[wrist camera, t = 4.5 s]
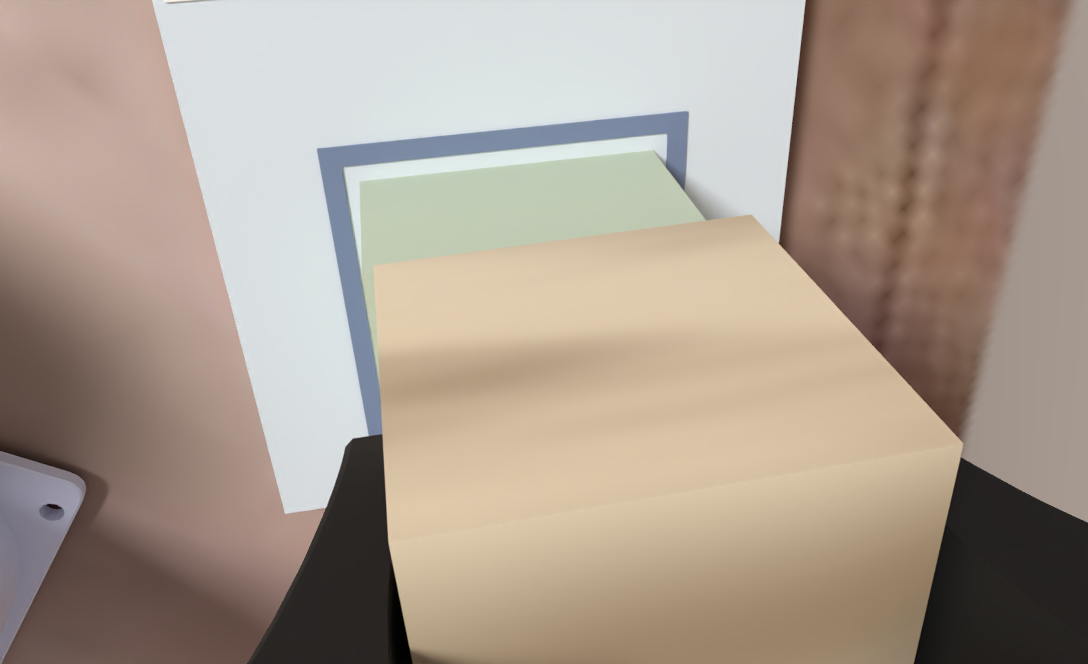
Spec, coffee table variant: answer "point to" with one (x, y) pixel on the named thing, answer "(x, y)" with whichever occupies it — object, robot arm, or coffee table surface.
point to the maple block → (651, 458)
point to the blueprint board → (440, 150)
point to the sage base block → (513, 208)
